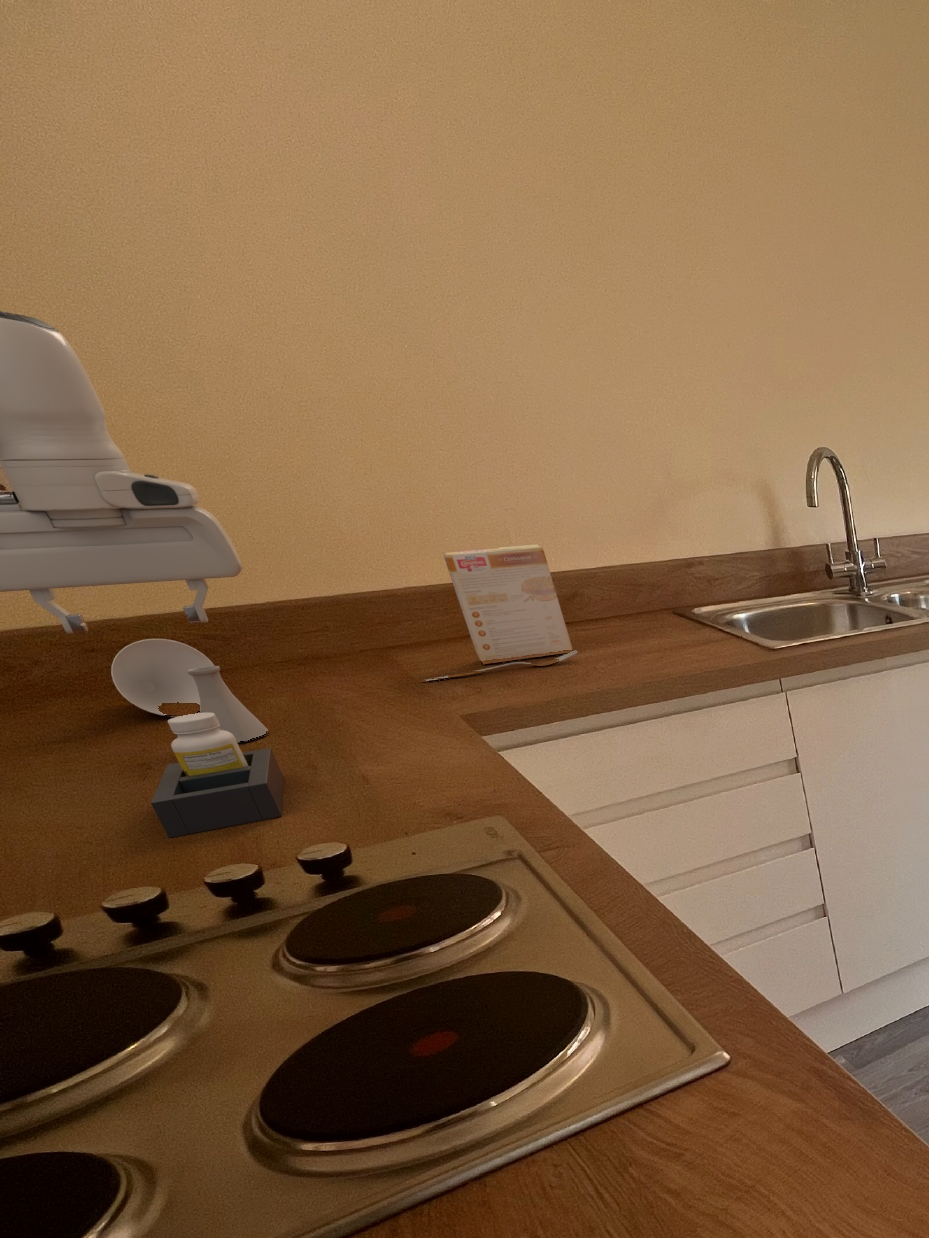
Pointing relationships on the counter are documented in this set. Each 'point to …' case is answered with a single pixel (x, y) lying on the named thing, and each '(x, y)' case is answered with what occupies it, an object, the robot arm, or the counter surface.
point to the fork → (519, 663)
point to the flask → (225, 705)
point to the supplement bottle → (204, 745)
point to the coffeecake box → (508, 601)
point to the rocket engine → (157, 673)
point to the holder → (219, 796)
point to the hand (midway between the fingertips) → (140, 627)
